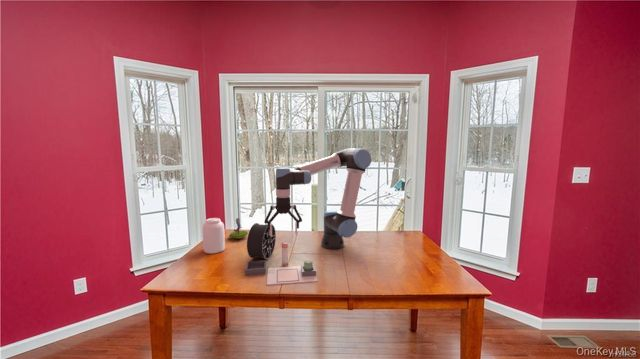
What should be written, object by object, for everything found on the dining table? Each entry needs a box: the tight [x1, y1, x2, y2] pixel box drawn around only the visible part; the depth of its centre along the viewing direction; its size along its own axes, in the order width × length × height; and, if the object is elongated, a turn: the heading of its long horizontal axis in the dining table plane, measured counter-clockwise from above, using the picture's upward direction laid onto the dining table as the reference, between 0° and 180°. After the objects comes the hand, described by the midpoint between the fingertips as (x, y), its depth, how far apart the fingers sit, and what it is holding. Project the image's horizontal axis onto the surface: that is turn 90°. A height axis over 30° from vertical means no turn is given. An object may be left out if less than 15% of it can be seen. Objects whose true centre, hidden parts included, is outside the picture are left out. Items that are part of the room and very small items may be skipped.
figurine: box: [228, 217, 249, 240], centre depth 188 cm, size 14×13×15 cm
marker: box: [281, 241, 289, 267], centre depth 147 cm, size 3×3×12 cm
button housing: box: [300, 264, 317, 277], centre depth 137 cm, size 7×7×2 cm
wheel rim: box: [246, 222, 277, 260], centre depth 156 cm, size 20×9×20 cm, turn 168°
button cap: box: [303, 260, 314, 271], centre depth 136 cm, size 4×4×4 cm
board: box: [266, 265, 318, 286], centre depth 135 cm, size 24×17×1 cm
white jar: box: [202, 217, 226, 255], centre depth 166 cm, size 12×12×20 cm
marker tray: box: [244, 259, 267, 276], centre depth 140 cm, size 10×10×3 cm
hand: (283, 234), depth 146 cm, fingers open, 13 cm apart
